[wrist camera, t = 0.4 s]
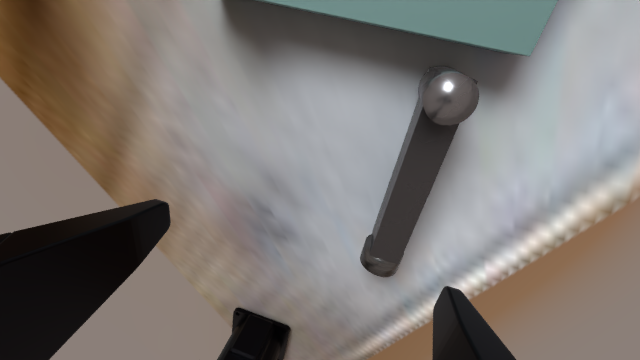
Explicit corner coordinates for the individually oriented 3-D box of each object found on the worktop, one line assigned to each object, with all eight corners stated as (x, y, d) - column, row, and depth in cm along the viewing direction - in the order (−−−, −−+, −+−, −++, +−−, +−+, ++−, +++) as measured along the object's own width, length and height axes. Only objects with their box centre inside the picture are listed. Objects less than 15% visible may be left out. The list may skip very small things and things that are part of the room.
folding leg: (423, 61, 17) (429, 66, 13) (471, 72, 17) (492, 81, 13) (363, 239, 23) (356, 278, 20) (397, 250, 23) (396, 291, 19)
